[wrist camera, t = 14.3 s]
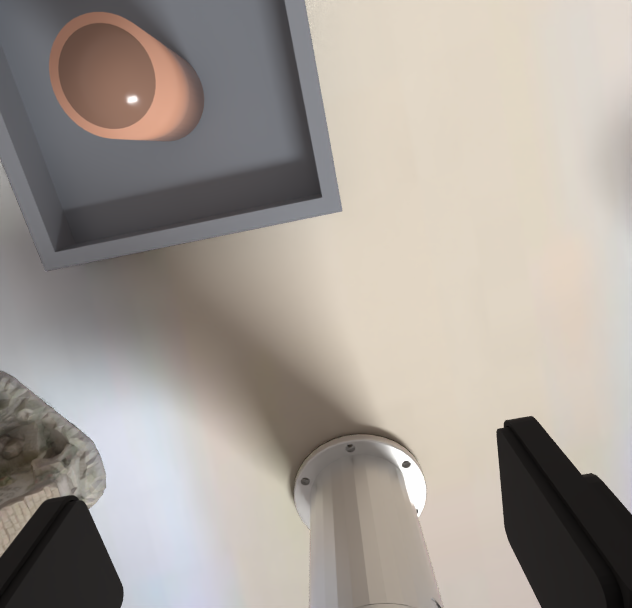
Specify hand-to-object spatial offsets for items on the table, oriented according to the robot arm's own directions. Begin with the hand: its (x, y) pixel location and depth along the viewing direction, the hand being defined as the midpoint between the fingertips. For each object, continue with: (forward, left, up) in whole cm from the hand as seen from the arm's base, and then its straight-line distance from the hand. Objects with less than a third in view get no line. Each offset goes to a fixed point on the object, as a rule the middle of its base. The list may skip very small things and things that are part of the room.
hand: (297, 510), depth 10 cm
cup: (+13, +8, -27) cm, 31 cm away
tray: (+13, +8, -28) cm, 32 cm away
